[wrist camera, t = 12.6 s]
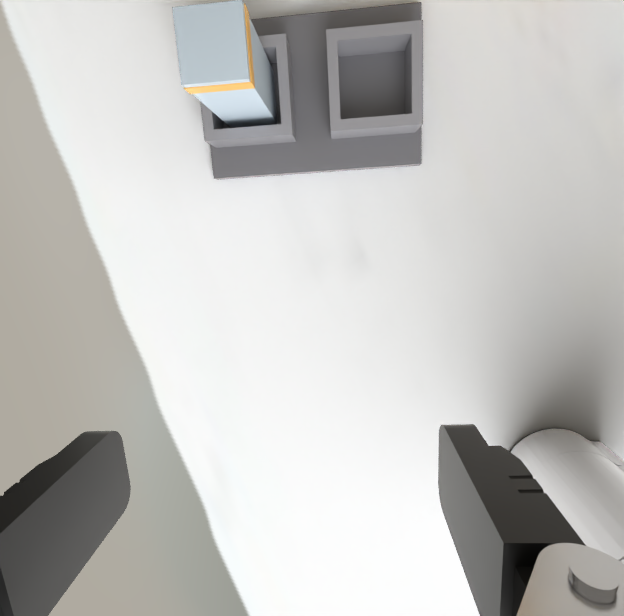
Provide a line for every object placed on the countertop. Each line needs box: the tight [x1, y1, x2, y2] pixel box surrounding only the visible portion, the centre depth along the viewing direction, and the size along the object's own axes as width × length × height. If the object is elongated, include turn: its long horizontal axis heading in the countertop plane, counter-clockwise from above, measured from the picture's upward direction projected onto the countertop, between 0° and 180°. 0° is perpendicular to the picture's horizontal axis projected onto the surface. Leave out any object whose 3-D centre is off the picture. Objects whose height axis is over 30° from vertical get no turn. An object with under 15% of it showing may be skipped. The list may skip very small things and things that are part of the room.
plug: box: [172, 0, 277, 128], centre depth 28 cm, size 4×4×11 cm
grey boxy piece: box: [200, 2, 423, 180], centre depth 32 cm, size 18×12×4 cm, turn 94°
